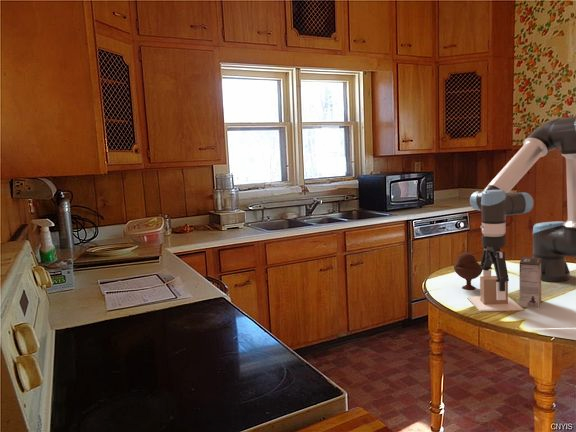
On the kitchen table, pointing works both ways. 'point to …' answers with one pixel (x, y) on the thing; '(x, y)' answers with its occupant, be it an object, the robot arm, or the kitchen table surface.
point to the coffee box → (530, 282)
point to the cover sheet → (494, 306)
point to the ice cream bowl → (468, 269)
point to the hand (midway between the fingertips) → (493, 293)
